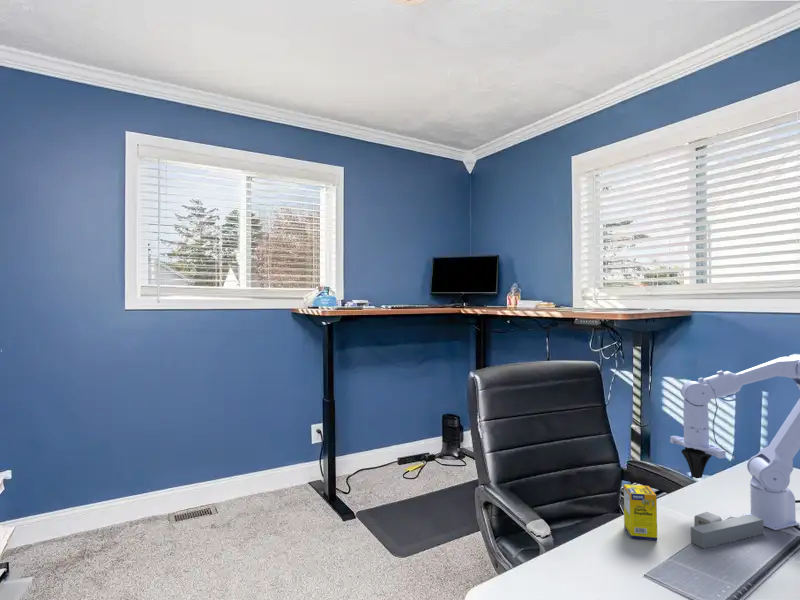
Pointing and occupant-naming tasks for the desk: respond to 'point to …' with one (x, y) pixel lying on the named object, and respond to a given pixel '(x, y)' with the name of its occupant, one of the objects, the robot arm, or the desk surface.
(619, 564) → the desk surface
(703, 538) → the slate rail
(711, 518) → the usb wall charger
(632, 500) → the supplement box
